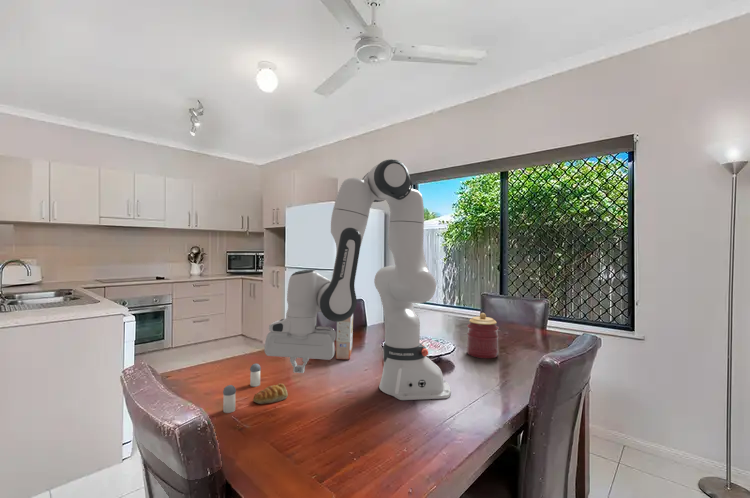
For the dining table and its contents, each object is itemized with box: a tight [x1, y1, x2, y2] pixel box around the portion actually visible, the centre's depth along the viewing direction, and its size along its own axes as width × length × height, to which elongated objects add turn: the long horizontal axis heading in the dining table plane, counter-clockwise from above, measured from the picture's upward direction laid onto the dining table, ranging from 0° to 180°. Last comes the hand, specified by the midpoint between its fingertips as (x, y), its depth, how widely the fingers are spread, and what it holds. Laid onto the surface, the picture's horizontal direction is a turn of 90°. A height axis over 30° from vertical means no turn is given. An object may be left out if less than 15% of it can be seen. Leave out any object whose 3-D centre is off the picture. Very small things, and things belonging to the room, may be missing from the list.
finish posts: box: [222, 363, 262, 414], centre depth 106 cm, size 3×21×7 cm, turn 177°
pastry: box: [252, 383, 288, 405], centre depth 105 cm, size 9×7×4 cm
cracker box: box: [335, 313, 354, 361], centre depth 148 cm, size 14×6×21 cm, turn 179°
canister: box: [466, 312, 500, 359], centre depth 152 cm, size 13×13×18 cm
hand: (298, 372), depth 105 cm, fingers closed
